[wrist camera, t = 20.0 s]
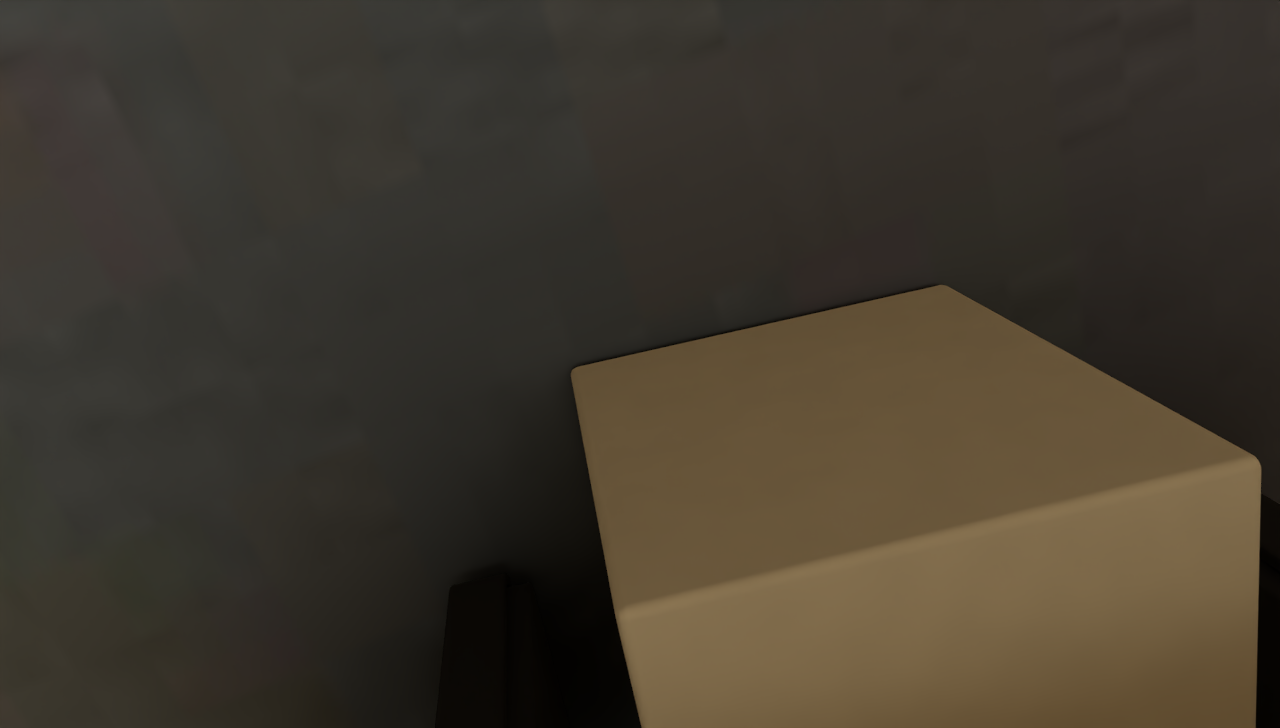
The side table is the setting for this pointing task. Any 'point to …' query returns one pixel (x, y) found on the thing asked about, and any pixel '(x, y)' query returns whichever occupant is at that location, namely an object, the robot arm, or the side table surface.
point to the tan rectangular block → (917, 531)
